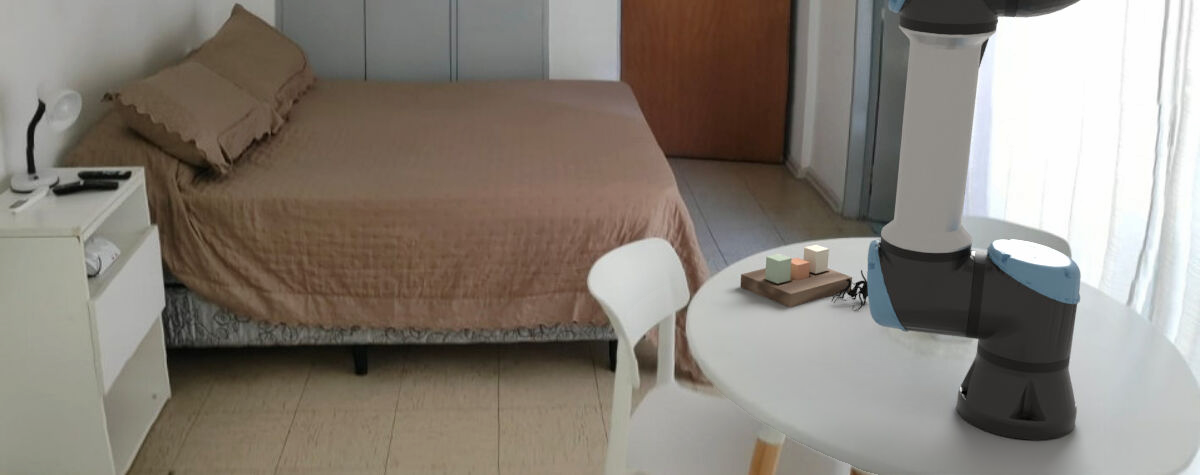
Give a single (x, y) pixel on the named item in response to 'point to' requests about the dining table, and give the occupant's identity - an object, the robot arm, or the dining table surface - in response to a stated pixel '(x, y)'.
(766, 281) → the panel
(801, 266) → the button terracotta
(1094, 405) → the dining table surface
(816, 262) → the button cream
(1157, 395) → the dining table surface
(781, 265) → the button sage
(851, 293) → the creature
